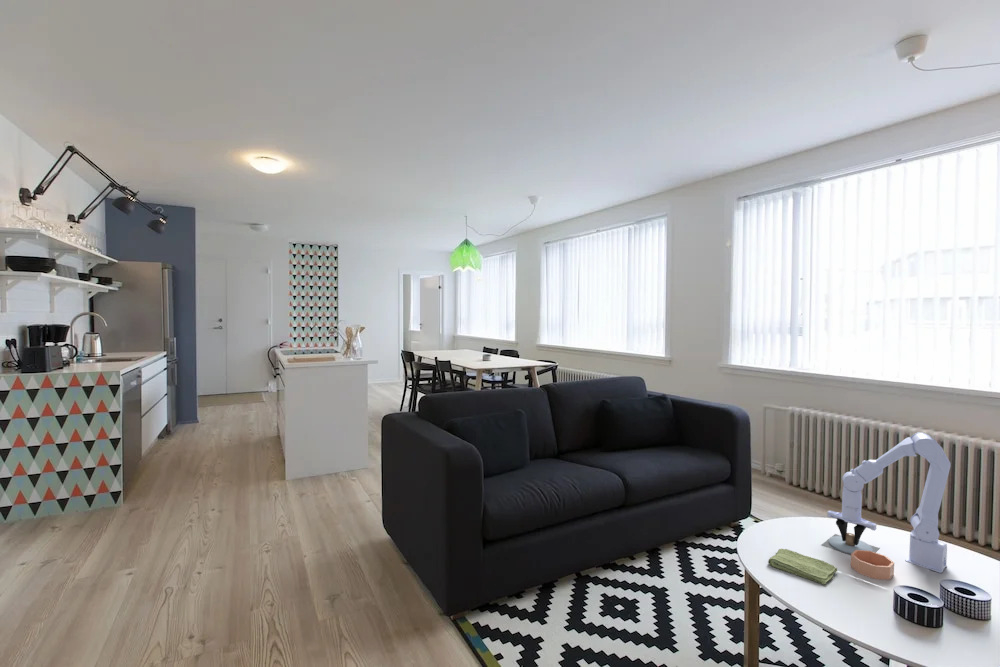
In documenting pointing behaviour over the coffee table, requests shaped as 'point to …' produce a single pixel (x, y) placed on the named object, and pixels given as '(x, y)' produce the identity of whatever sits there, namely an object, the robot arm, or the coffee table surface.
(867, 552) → the bowl
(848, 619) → the coffee table surface
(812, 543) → the coffee table surface
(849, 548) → the lid
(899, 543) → the coffee table surface
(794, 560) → the washcloth
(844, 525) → the robot arm
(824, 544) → the mat
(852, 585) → the coffee table surface
